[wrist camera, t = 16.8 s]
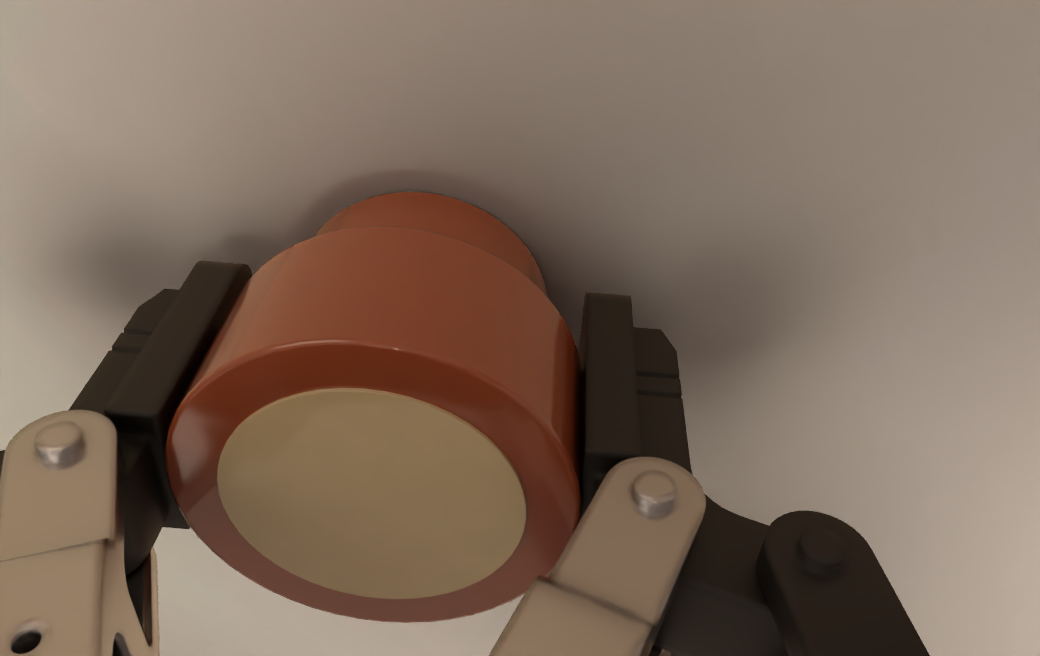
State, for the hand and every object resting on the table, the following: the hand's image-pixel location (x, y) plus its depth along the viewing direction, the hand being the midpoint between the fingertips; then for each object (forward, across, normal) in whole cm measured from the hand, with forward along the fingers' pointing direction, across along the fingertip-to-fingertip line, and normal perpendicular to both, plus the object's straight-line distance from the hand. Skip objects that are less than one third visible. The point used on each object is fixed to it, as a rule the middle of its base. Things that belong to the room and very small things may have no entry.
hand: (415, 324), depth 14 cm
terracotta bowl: (+1, 0, 0) cm, 1 cm away
